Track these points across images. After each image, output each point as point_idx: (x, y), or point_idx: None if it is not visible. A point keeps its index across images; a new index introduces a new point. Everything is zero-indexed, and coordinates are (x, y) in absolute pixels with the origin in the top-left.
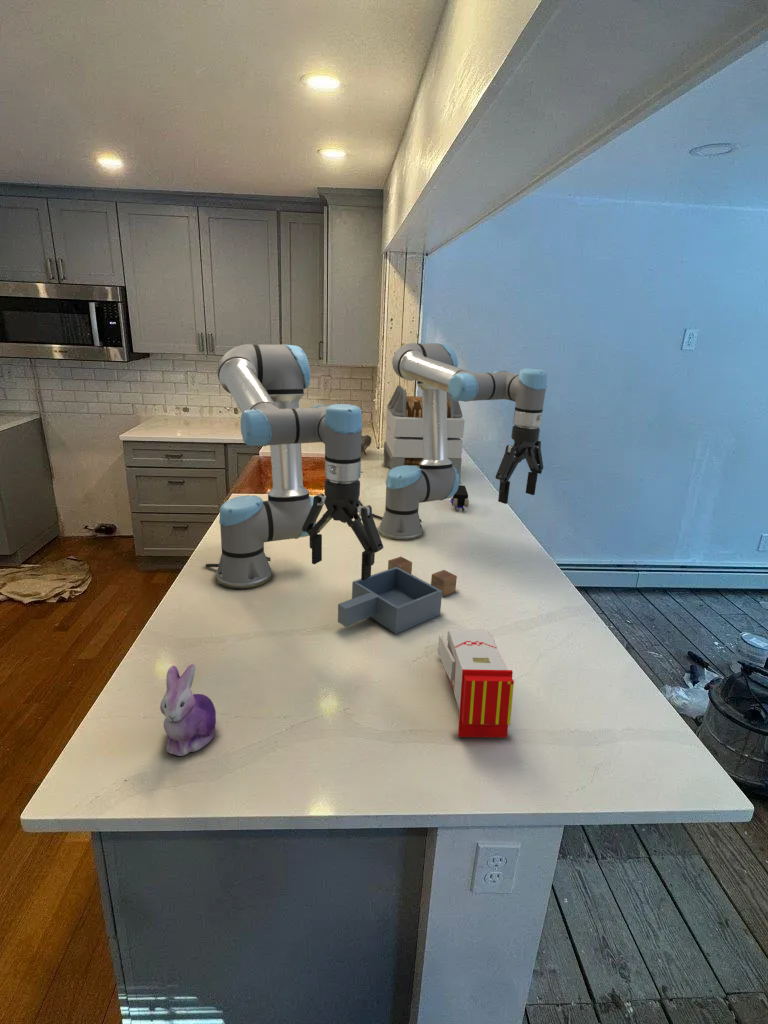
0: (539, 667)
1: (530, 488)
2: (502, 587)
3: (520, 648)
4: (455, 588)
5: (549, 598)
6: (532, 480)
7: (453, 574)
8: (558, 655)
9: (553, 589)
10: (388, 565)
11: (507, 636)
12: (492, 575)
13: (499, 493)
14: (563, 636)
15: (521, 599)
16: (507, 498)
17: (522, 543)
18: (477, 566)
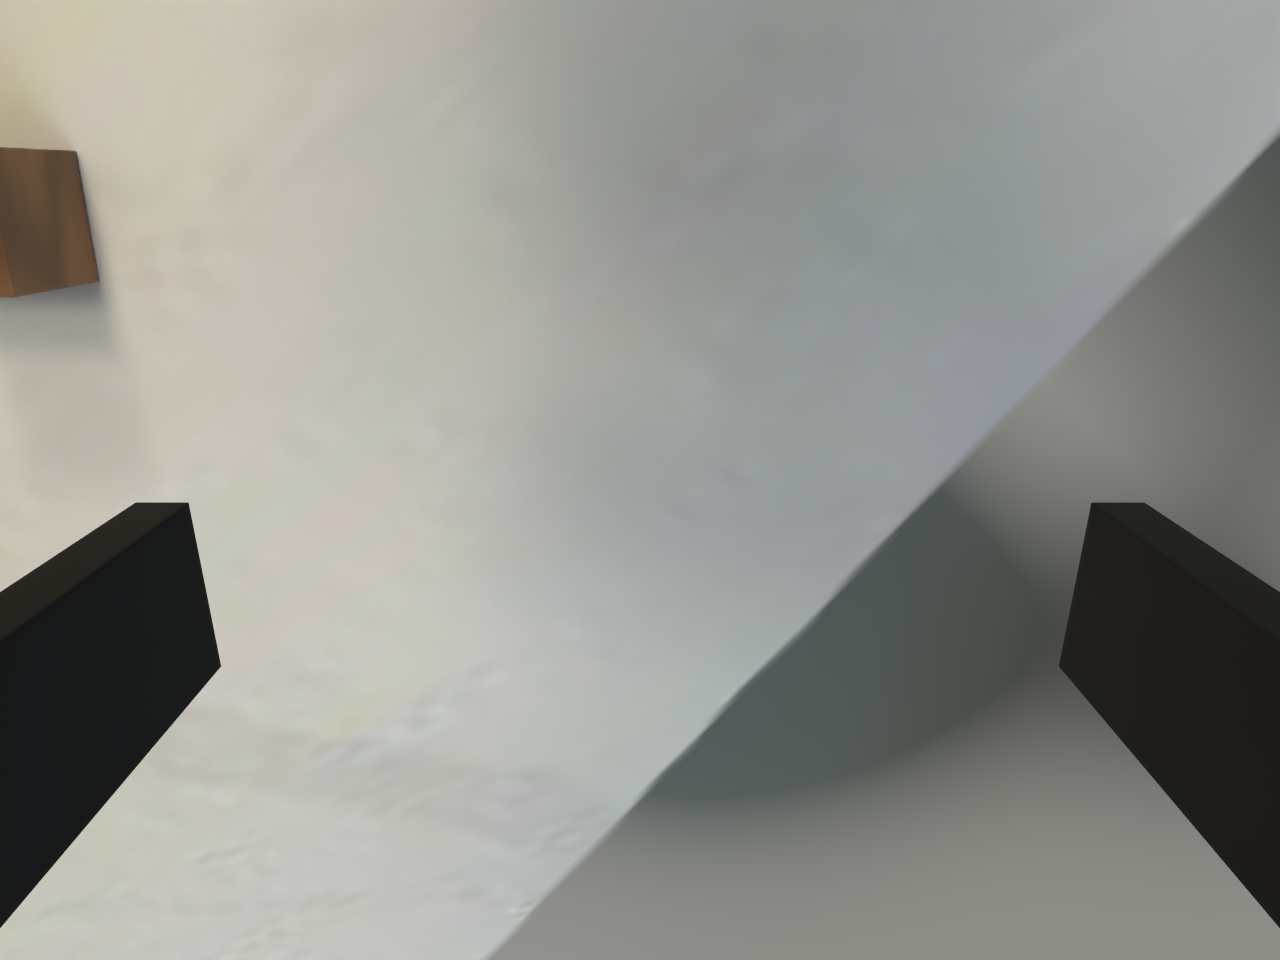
0: (12, 940)
1: (1142, 660)
2: (432, 436)
3: None
4: (80, 284)
5: (559, 679)
6: (1277, 824)
7: (4, 262)
8: (152, 943)
9: (679, 637)
10: None
11: None
12: (518, 280)
13: (22, 591)
14: (294, 890)
15: (409, 594)
16: (150, 727)
17: (1277, 31)
18: (545, 97)
